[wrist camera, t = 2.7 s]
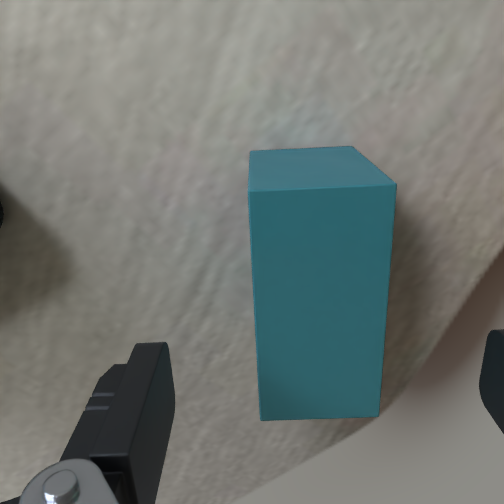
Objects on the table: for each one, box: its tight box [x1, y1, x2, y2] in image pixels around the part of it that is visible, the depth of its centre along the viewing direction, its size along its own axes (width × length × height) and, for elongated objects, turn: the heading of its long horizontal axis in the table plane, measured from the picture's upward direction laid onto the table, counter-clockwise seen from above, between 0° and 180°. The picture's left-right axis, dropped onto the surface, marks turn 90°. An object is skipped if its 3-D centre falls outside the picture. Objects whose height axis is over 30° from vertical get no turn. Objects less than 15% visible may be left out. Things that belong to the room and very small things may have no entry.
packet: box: [248, 146, 397, 421], centre depth 16 cm, size 4×8×6 cm, turn 3°
